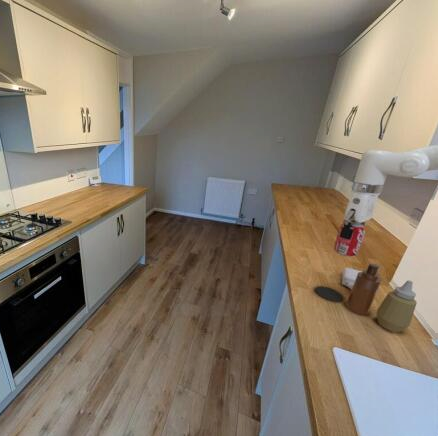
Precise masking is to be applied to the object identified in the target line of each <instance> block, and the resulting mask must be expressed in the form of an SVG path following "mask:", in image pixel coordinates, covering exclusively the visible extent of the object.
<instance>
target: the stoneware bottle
mask: <svg viewBox="0 0 438 436" xmlns="http://www.w3.org/2000/svg"><path fill="white" fill-rule="evenodd" d="M379 268H380V265H378V264H376V263H373V262H371V263H369V264H368V266H367V269H363V270H362V272H359V273H358V274H357V277H356V279H355V282H354V285H353V287H352V290H351V289H350V294H349V296H348V297H347V301H346V303H345V307H346V308H347V309H348V310H349V311H350V312H352V313H355V314H357V315H361V316H367V315H368V314H369V312H370V310H371V308H372V305H373V303H374V300H375V298H376V297H377V293H378V292H379V291H378V290H379V289H380V286H381V284H382V282H383V281H382V278H380V274H379V273H378V271H379Z"/></svg>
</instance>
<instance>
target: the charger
mask: <svg viewBox="0 0 438 436" xmlns="http://www.w3.org/2000/svg"><path fill="white" fill-rule="evenodd" d="M359 272H363V270H358V269H354V268H351V267H345V268H344V269H343V272H342V276H341V284H342V285H343V286H344V287H348V289H350V291H351V290H352V287H353V285H354V282H355V279H356V277H357V274H358V273H359Z"/></svg>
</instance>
